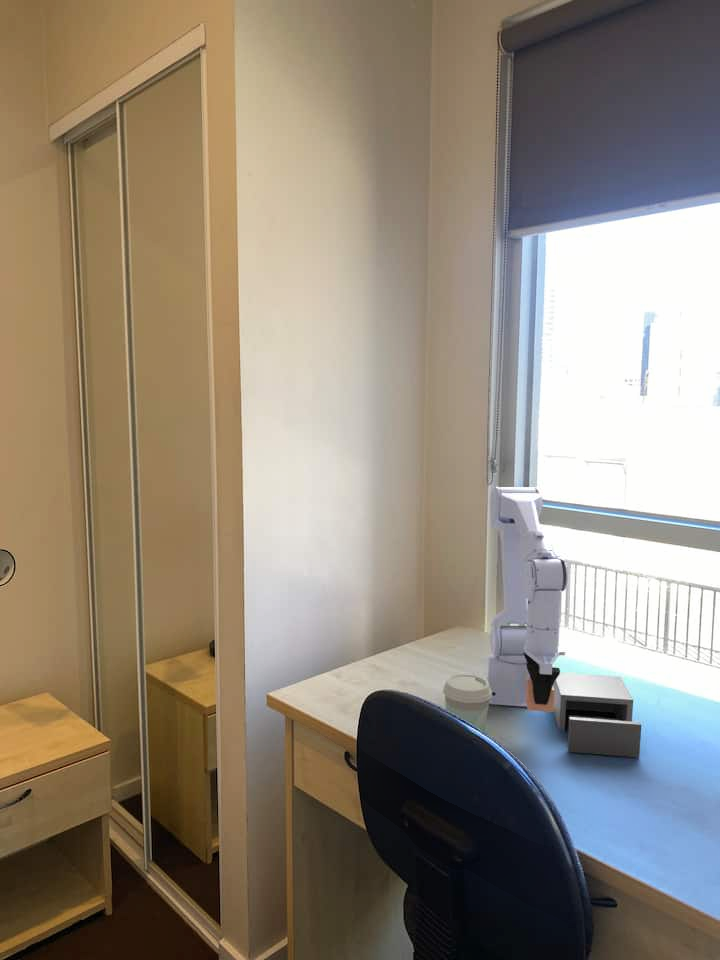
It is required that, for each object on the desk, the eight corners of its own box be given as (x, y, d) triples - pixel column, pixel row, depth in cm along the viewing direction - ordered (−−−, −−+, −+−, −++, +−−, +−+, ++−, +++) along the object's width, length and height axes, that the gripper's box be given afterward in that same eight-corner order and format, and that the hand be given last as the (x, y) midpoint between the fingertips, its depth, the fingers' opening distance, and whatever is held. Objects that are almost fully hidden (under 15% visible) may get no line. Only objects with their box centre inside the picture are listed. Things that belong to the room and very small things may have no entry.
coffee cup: (478, 763, 123) (480, 696, 121) (433, 749, 127) (435, 684, 126) (496, 743, 130) (499, 679, 129) (453, 730, 135) (455, 669, 133)
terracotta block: (527, 709, 128) (528, 688, 128) (525, 699, 133) (526, 678, 132) (553, 711, 127) (554, 690, 127) (550, 701, 132) (551, 680, 131)
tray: (568, 751, 127) (570, 719, 126) (560, 723, 138) (561, 693, 137) (639, 757, 125) (641, 724, 124) (625, 728, 136) (627, 698, 135)
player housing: (559, 730, 135) (560, 694, 134) (551, 705, 146) (553, 672, 145) (630, 736, 133) (633, 699, 132) (618, 710, 144) (620, 676, 143)
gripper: (572, 640, 120) (567, 717, 122) (560, 613, 135) (557, 683, 136) (529, 637, 121) (525, 713, 123) (522, 611, 136) (519, 680, 137)
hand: (539, 697), depth 130 cm, fingers closed on terracotta block, 4 cm apart
